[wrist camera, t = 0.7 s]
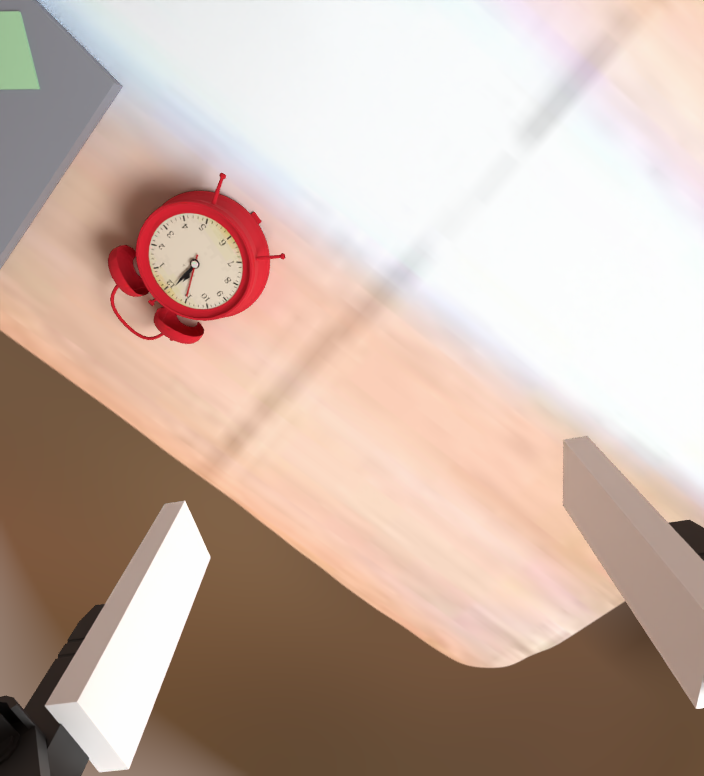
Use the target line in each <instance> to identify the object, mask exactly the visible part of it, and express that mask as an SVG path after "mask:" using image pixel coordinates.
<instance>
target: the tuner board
mask: <svg viewBox="0 0 704 776" xmlns="http://www.w3.org/2000/svg"><path fill="white" fill-rule="evenodd" d="M3 11H19V12H21V15H22V19H23V23H24V27H25V31H26V35H27V39H28V43H29V47H30V51H31V55H32V59H33V63H34V66H35V70H36V74H37V78H38V82H39V86H40V89H19V90H0V269H1V267H2V266H3V264H4V263H5V261H6V260H7V258H8V257H9V255H10V254H11V252H12V251H13V249H14V248H15V246H16V245H17V243H18V242H19V240H20V239H21V238H22V236H23V235H24V233H25V232H26V230H27V229H28V227H29V226H30V224H31V223H32V221H33V220H34V218H35V217H36V215H37V214H38V212H39V211H40V209H41V208H42V206H43V205H44V203H45V202H46V200H47V199H48V197H49V196H50V194H51V193H52V191H53V190H54V188H55V187H56V185H57V184H58V182H59V181H60V179H61V178H62V176H63V175H64V173H65V172H66V170H67V169H68V167H69V166H70V164H71V163H72V161H73V160H74V158H75V157H76V155H77V154H78V152H79V151H80V149H81V148H82V146H83V145H84V143H85V142H86V140H87V139H88V137H89V136H90V134H91V133H92V131H93V130H94V128H95V127H96V125H97V124H98V122H99V121H100V119H101V118H102V116H103V115H104V113H105V112H106V110H107V109H108V107H109V106H110V105H111V103H112V102H113V100H114V99H115V97H116V96H117V94H118V93H119V91H120V90H121V88H122V86H121V85H120V84H119V83H118V82H117V81H116V80H115V79H114V78H113V77H112V76H111V75H110V74H109V73H108V72H107V71H106V70H105V69H104V68H103V67H102V66H101V65H100V64H99V63H98V62H97V61H96V60H95V59H94V58H93V57H92V56H91V55H90V54H89V53H88V52H87V51H86V50H85V49H84V48H83V47H82V46H81V45H80V44H79V43H78V42H77V41H76V40H75V39H74V38H73V37H72V36H71V35H70V34H69V33H68V32H67V31H66V29H65V28H64V27H63V26H62V25H61V24H60V23H59V22H58V21H57V20H56V19H55V18H54V17H53V16H52V15H51V14H50V13H49V12H48V11H47V10H46V9H45V8H44V7H43V6H42V5H41V4H40V3H39V2H38V1H37V0H0V12H3Z"/></svg>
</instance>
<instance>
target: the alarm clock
mask: <svg viewBox="0 0 704 776" xmlns="http://www.w3.org/2000/svg"><path fill="white" fill-rule="evenodd" d="M225 178H226V175H225V174H223V173H220V181H219V183H218V186H217V189H216V190H215V193H214V192H209V191H191V192H185V193H182V194H179V195H177V196H174V197H173V198H171V199H169V200H168V201H166V202H165V203H164V204H163V205H162V206H161V207H159V208H158V209H156V210H155V211H154V212H153V213H152V214H151V215H150V216H149V217H148V218H147V220H146V221H145V223H144V224H143V226H142V228H141V230H140V233H139V235H138V239H137V245H136V251H135V250H134V249H133V248H131V247H129V246H127V245H122V246H119V247H116V248H115V249H113V250H112V251H111V252H110V254H109V258H108V267H109V270H110V273H111V276H112V278H113V279H114V281H115V283H116V284H117V285H116V286H115V287H114V289H113V291H112V293H111V298H110V301H111V306H112V309H113V311H114V313H115V314H116V316H117V317H118V319H119V320H120V321H121V322H122V323H123V324H124V326H125V327H127V328H128V329H129V330H130V331H131V332H132V333H134V334H135V335H137V336H138V337H140V338H142V339H146V340H154V339H157V338H159V337H161V336H163V335H165V336H166V337H168V338H170V340H171V341H173V340H174V341H177V342H180V343H185V344H192V343H195V342H197V341H198V340H199V339H200V338H201V337H202V335H203V334H204V329H203V327H202V325H201V324H200V323H199V322H198V323H197V325H196V326H195V327H189V326H186V325H184V324H182V323H181V322H180V321H179V319H178V318H177V315H179V316H182V317H185V318H189V319H193V320H203V321H206V320H215V319H219V318H224V317H229V316H233V315H236V314H238V313H240V312H242V311H244V310H245V309H247V308H248V307H249V306H251V305H252V304H253V303H254V302H255V301H256V300H257V298H258V297H259V296H260V294H261V293H262V291H263V289H264V288H265V285H266V283H267V280H268V276H269V269H270V259H274V258H281V259H284V258H285V254H283V253H282V254H281V255H274V256H270V255H269V249H268V245H267V241H266V239H265V236H264V234H263V232H262V230H261V228H260V226H259V225H258V224H259V223H261V222H262V221H261V220H260V219H259V217H258V216H257V215H256V213H255V212H253V213H252V214H250V213H249V212H248V211H247V210H246V209H245V208H244V207H242V206H241V205H240V204H238V203H237V202H235V201H234V200H232V199H230V198H228V197H226V196H224V195H221V194H219V192H220V191H219V190H220V187H221V184H222V181H223V179H225ZM135 257H136V260H137V266H138V270H139V273H140V276H141V277H140V276H139V275H138V274H137V273H136V271H135V269H134V266H133V259H134V258H135ZM118 288H120V289H121V290H122V291H123V292H124V293H126V294H127V295H130V296H133V297H138V296H143V295H146V294H148V292H150V293H151V295H152V296H153V297H154V298H155V299H153V300H150V301H148V302H149V303H150V305H151V306H153V305H154V302H155V301H156V300H157V301H158V302H159V303H160V304H161V305H162V306H163V307H161V308H159V309H157V311H156V313H155V316H154V323H155V326H156V327H157V329H158V330H159V331H160V332H161V334H159V335H157V336H154V337H146V336H143V335H141V334H139V333H137V332H136V331H134V330H133V329H132V328H131V327H130V326H129V325H128V324H127V323H126V322H125V321H124V320H123V319H122V318H121V316H120V315H119V313H118V312H117V310H116V308H115V305H114V295H115V293H116V291H117V289H118Z"/></svg>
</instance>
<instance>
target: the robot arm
mask: <svg viewBox="0 0 704 776" xmlns="http://www.w3.org/2000/svg"><path fill="white" fill-rule="evenodd" d="M563 506H564V508H565V509H566V511H567V512H568V514H569V515H570V517H571V518H572V520H573V521H574V523H575V524H576V526H577V528H578V529H579V531H580V532H581V534H582V535H583V537H584V538H585V540H586V541H587V543H588V544H589V546H590V547H591V549H592V550H593V552H594V554H595V555H596V557H597V558H598V560H599V561H600V563H601V564H602V566H603V567H604V569H605V570H606V572H607V573H608V575H609V576H610V578H611V580H612V581H613V583H614V584H615V586H616V587H617V589H618V590H619V592H620V593H621V595H622V596H623V598H624V599H625V601H626V602H627V604H628V605H629V607H630V609H631V610H632V612H633V613H634V615H635V616H636V618H637V619H638V621H639V622H640V624H641V625H642V627H643V628H644V630H645V631H646V633H647V635H648V636H649V638H650V639H651V641H652V642H653V644H654V645H655V647H656V648H657V650H658V651H659V653H660V654H661V656H662V657H663V659H664V661H665V662H666V663H667V665H668V667H669V668H670V670H671V671H672V673H673V674H674V676H675V677H676V679H677V680H678V682H679V683H680V685H681V687H682V688H683V689H684V691H685V693H686V694H687V696H688V697H689V699H690V700H691V702H692V703H693V705H694V706H695V708H696V709H698V708H704V528H703V527H701V526H700V525H698V524H696V523H694V522H693V521H691V520H685V521H678V522H671V523H668V522H667V521H666V520H665V519H664V518H663V517H662V516H661V515H660V514H659V512H658V511H657V510H656V509H655V508H654V507H653V506H652V505H651V504H650V503H649V502H648V501H647V500H646V499H645V497H644V496H643V495H642V494H641V493H640V492H639V491H638V490H637V489H636V488H635V487H634V486H633V485H632V484H631V482H630V481H629V480H628V479H627V478H626V477H625V476H624V475H623V474H622V473H621V472H620V471H619V470H618V468H617V467H616V466H615V465H614V464H613V463H612V462H611V461H610V460H609V459H608V458H607V457H606V456H605V455H604V453H603V452H602V451H601V450H600V449H599V448H598V447H597V446H596V445H595V444H594V443H593V442H592V441H591V440H590V438H589V437H588V436H584V437H578V438H572V439H565V440H563ZM209 560H210V555H209V553H208V551H207V549H206V546H205V544H204V542H203V540H202V537H201V535H200V533H199V531H198V529H197V526H196V524H195V522H194V520H193V517H192V515H191V513H190V511H189V508H188V506H187V504H186V502H185V501H180V502H174V503H167V504H164V506H163V507H162V509H161V511H160V513H159V514H158V516H157V518H156V519H155V521H154V523H153V525H152V526H151V528H150V530H149V531H148V533H147V534H146V536H145V538H144V539H143V541H142V543H141V545H140V546H139V548H138V550H137V551H136V553H135V555H134V556H133V558H132V560H131V561H130V563H129V565H128V566H127V568H126V570H125V572H124V573H123V575H122V577H121V578H120V580H119V582H118V583H117V585H116V587H115V588H114V590H113V592H112V593H111V595H110V597H109V598H108V600H107V602H106V603H105V604H101V605H95V606H94V607H93V608H92V609H91V610H90V611H89V612H88V613H87V614H86V615H85V617H83V618H82V620H80V621H79V623H78V624H77V626H76V628H75V629H74V631H73V632H72V634H71V635H70V637H69V639H68V643H67V644H65V645H64V647H63V648H62V650H61V651H60V653H59V654H58V659H55V661H54V662H53V664H52V666H51V667H50V669H49V670H48V672H47V674H46V675H45V677H44V678H43V680H42V681H41V683H40V685H39V686H38V688H37V689H36V691H35V693H34V694H33V696H32V697H31V699H30V701H29V702H28V704H27V705H26V707H25V709H23V708H22V707H21V706H20V705H19V704H18V703H17V701H16V700H15V699H14V698H13V697H9V696H2V697H0V776H81V775H82V773H83V771H84V769H85V766H86V764H87V762H88V760H90V761H91V763H92V764H93V765H94V766H95V767H96V769H97V770H98V771H99V772H107V771H116V770H125V769H129V767H130V765H131V762H132V760H133V757H134V754H135V752H136V749H137V747H138V744H139V741H140V739H141V736H142V734H143V731H144V728H145V726H146V723H147V721H148V718H149V716H150V713H151V710H152V708H153V705H154V703H155V700H156V697H157V694H158V692H159V689H160V687H161V684H162V682H163V679H164V677H165V674H166V671H167V669H168V666H169V664H170V661H171V659H172V656H173V653H174V650H175V648H176V646H177V643H178V640H179V638H180V635H181V633H182V630H183V627H184V625H185V622H186V620H187V617H188V614H189V612H190V609H191V607H192V604H193V601H194V599H195V596H196V593H197V591H198V589H199V586H200V583H201V581H202V578H203V576H204V573H205V570H206V568H207V565H208V563H209Z"/></svg>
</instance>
